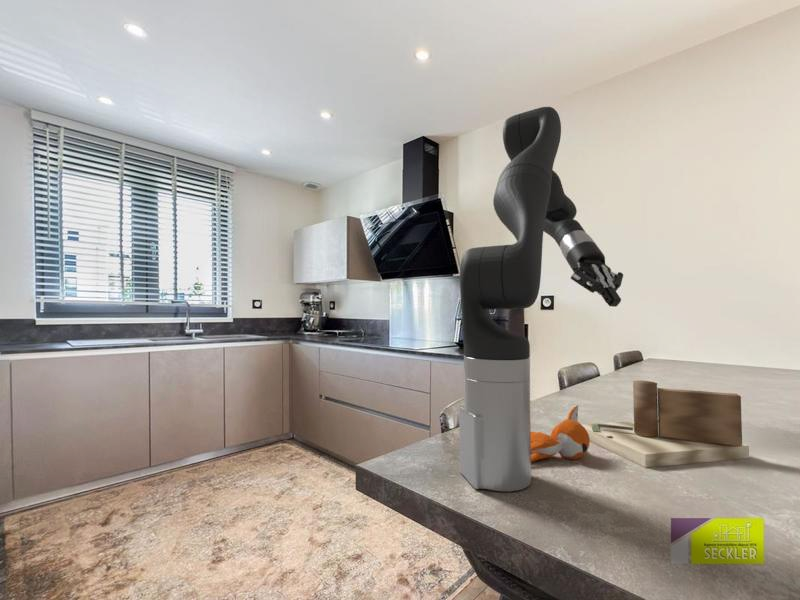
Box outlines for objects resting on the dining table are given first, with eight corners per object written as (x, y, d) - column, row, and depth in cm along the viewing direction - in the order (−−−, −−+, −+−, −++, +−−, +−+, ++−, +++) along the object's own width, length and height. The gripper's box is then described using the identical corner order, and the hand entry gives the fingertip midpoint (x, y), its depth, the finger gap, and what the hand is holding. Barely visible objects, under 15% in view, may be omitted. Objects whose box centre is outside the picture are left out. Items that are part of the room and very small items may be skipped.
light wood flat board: (645, 467, 59) (645, 452, 59) (576, 435, 74) (576, 423, 74) (749, 458, 63) (748, 444, 63) (663, 429, 78) (663, 418, 78)
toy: (546, 444, 55) (605, 410, 63) (447, 410, 74) (502, 388, 81) (554, 498, 55) (611, 458, 63) (454, 450, 74) (507, 424, 82)
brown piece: (598, 430, 70) (597, 380, 70) (597, 425, 73) (596, 377, 73) (744, 447, 61) (742, 390, 61) (736, 441, 64) (734, 386, 64)
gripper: (564, 238, 90) (598, 290, 78) (612, 242, 93) (652, 293, 81) (550, 262, 95) (579, 314, 84) (596, 265, 98) (631, 316, 86)
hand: (615, 303), depth 82 cm, fingers closed
